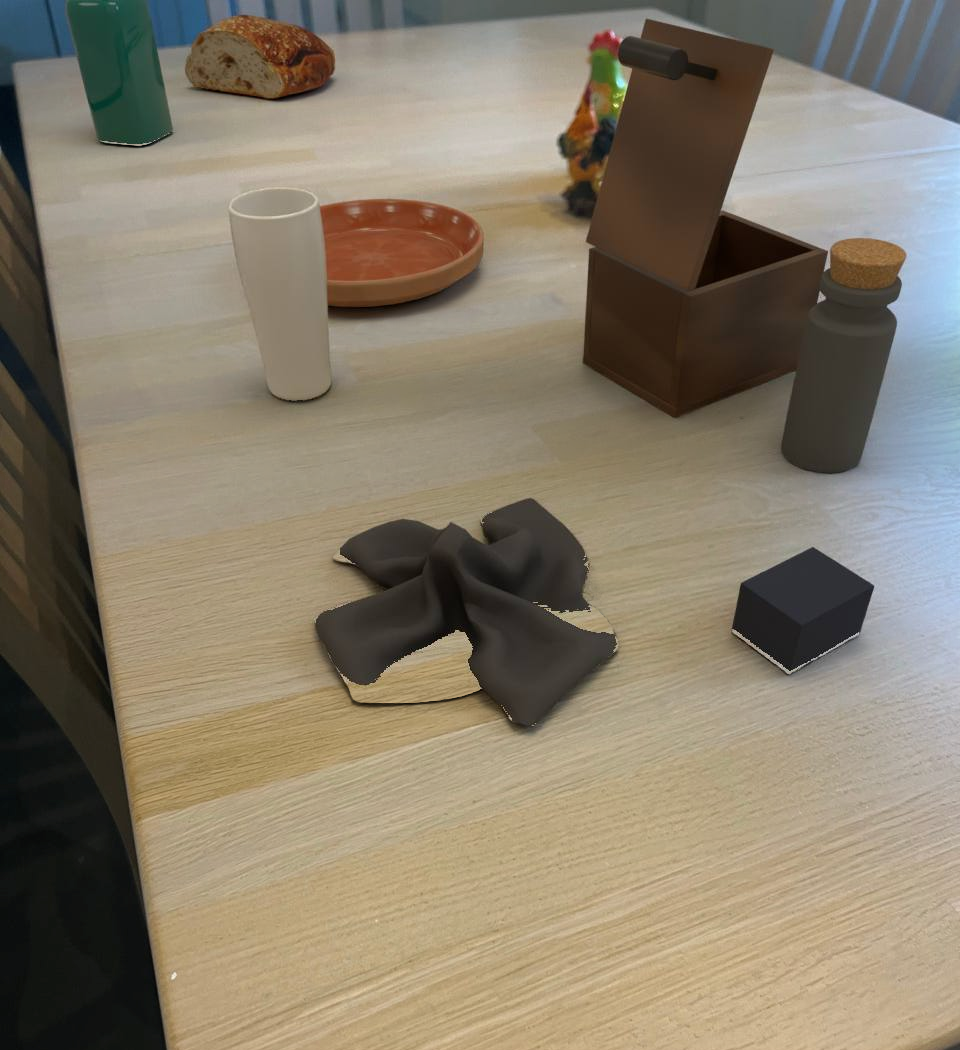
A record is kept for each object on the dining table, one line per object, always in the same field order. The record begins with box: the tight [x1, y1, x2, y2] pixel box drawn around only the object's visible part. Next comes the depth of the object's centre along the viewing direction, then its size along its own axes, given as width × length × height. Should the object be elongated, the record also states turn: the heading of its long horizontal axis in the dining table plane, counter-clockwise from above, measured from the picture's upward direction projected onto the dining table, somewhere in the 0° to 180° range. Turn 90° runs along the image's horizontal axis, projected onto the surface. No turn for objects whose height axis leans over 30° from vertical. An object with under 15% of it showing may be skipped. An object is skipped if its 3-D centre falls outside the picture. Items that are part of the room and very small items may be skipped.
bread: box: [184, 14, 336, 99], centre depth 156 cm, size 20×18×10 cm
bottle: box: [780, 237, 907, 474], centre depth 70 cm, size 6×6×15 cm
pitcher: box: [64, 0, 174, 144], centre depth 132 cm, size 10×8×22 cm
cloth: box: [314, 497, 617, 727], centre depth 61 cm, size 22×19×6 cm
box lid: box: [585, 18, 775, 290], centre depth 71 cm, size 15×12×6 cm
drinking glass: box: [227, 186, 333, 402], centre depth 79 cm, size 7×7×15 cm
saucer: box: [319, 198, 485, 308], centre depth 101 cm, size 23×23×4 cm
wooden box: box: [582, 209, 829, 418], centre depth 83 cm, size 15×12×10 cm
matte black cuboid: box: [731, 546, 875, 671], centre depth 59 cm, size 6×5×4 cm
